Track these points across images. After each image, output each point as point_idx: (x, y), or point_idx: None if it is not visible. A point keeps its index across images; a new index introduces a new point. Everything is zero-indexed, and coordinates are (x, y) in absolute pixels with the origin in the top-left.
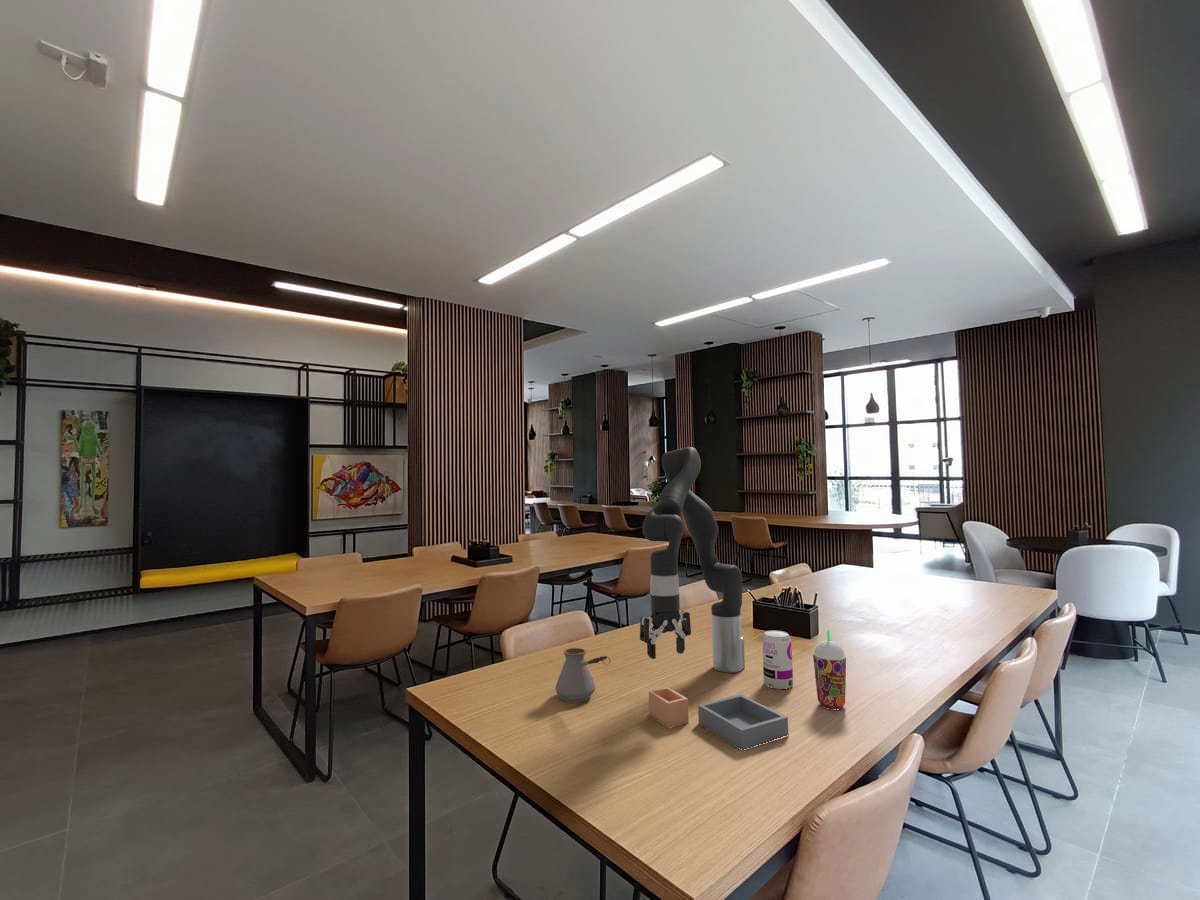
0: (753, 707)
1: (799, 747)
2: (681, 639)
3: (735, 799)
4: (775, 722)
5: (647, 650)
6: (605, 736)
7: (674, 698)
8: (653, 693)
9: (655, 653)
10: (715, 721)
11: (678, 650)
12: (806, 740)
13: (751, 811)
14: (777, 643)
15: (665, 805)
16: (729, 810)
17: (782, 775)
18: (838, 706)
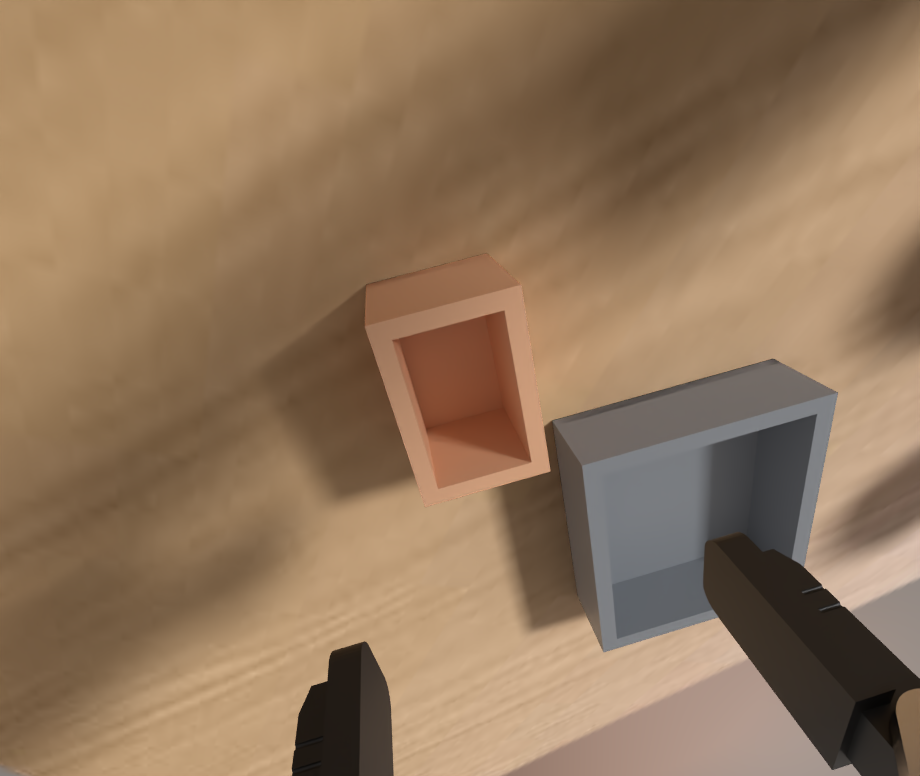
0: (789, 467)
1: None
2: (843, 763)
3: (440, 741)
4: None
5: (294, 768)
6: (102, 453)
7: (509, 373)
8: (388, 367)
9: (389, 758)
10: (582, 536)
11: (721, 579)
12: None
13: (451, 765)
14: None
15: (275, 758)
16: (410, 764)
17: (592, 682)
18: None
